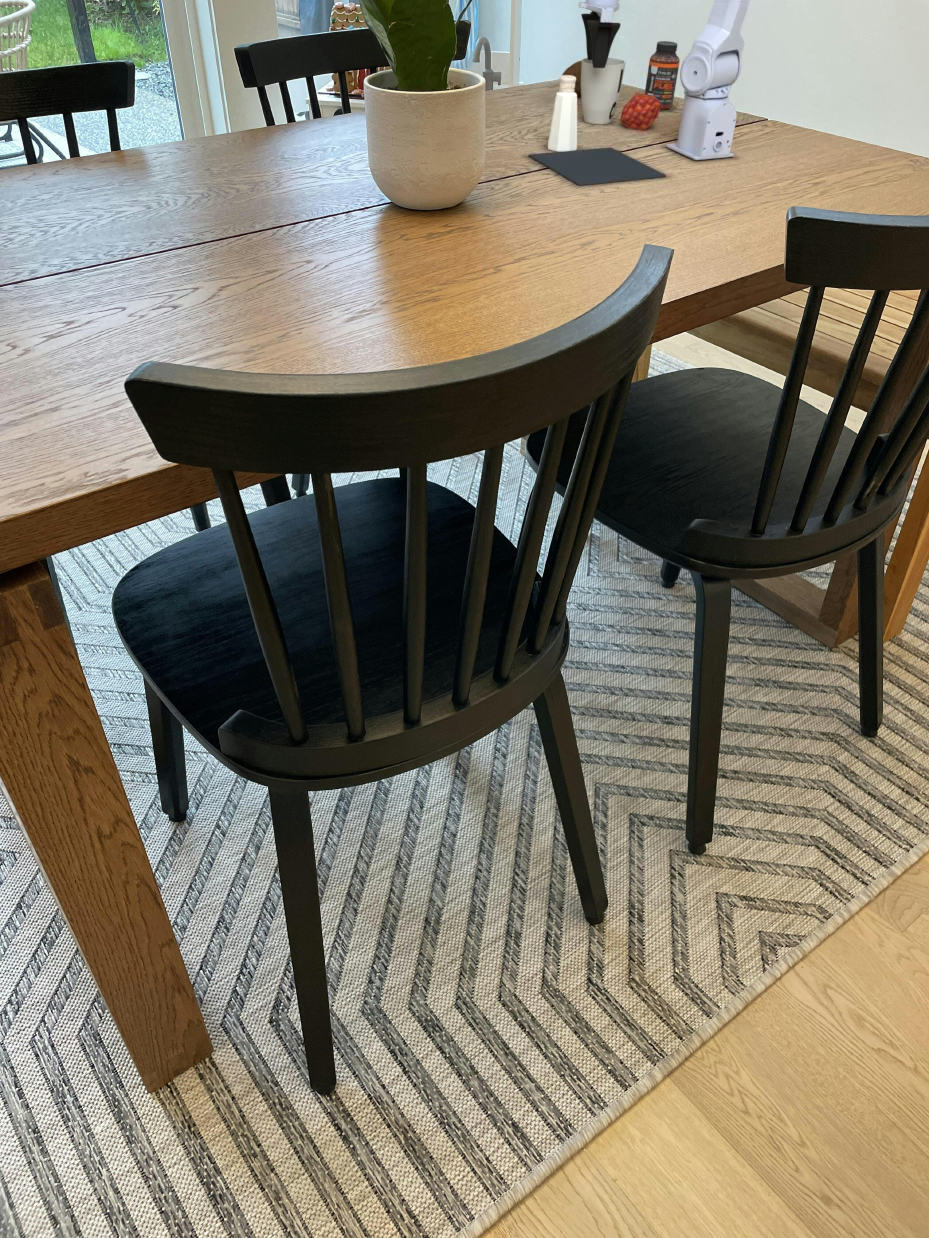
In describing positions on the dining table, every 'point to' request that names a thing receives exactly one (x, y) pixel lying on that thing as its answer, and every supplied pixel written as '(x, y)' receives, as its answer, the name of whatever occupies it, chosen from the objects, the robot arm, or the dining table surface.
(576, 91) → the potato
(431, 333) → the dining table surface
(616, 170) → the mat
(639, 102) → the decorative stone
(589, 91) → the cup
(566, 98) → the salt shaker
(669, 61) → the supplement bottle
